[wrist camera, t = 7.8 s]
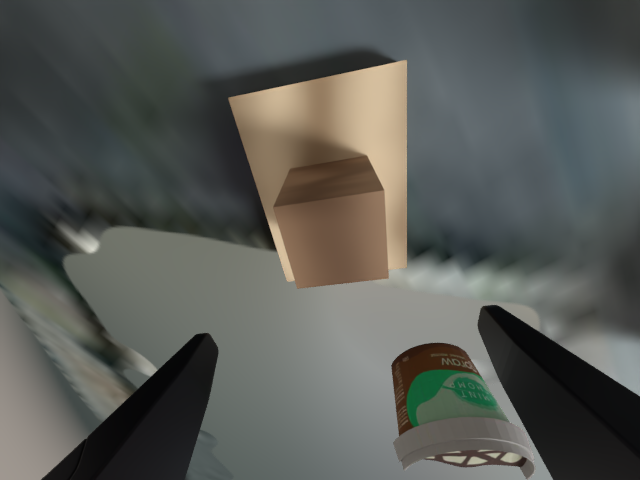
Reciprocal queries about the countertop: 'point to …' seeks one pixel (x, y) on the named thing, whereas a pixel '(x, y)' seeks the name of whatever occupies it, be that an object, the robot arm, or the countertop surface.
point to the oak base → (331, 139)
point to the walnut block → (334, 223)
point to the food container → (452, 413)
